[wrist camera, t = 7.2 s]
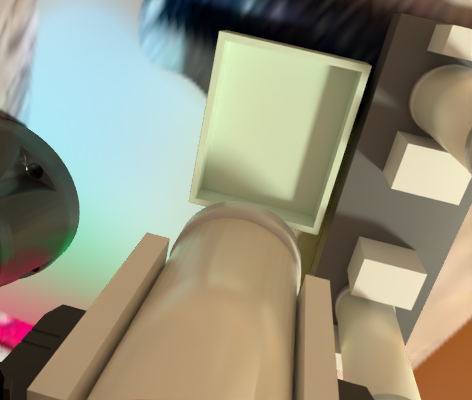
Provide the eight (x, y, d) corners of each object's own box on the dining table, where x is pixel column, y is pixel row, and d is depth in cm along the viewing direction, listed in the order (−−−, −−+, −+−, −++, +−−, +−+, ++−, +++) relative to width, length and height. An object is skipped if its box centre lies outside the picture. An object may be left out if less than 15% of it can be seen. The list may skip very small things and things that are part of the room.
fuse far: (327, 318, 37) (337, 458, 25) (344, 273, 36) (362, 401, 24) (381, 333, 37) (416, 481, 25) (401, 288, 35) (448, 425, 23)
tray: (197, 189, 38) (188, 202, 35) (226, 30, 33) (219, 31, 30) (316, 219, 37) (317, 235, 35) (366, 62, 32) (371, 66, 29)
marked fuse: (169, 293, 17) (-136, 889, 5) (188, 186, 16) (-210, 735, 4) (283, 324, 17) (224, 1023, 5) (316, 219, 15) (343, 928, 3)
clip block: (296, 311, 41) (294, 360, 35) (393, 13, 31) (413, 11, 25) (392, 336, 41) (407, 391, 35) (523, 42, 30) (576, 48, 24)
